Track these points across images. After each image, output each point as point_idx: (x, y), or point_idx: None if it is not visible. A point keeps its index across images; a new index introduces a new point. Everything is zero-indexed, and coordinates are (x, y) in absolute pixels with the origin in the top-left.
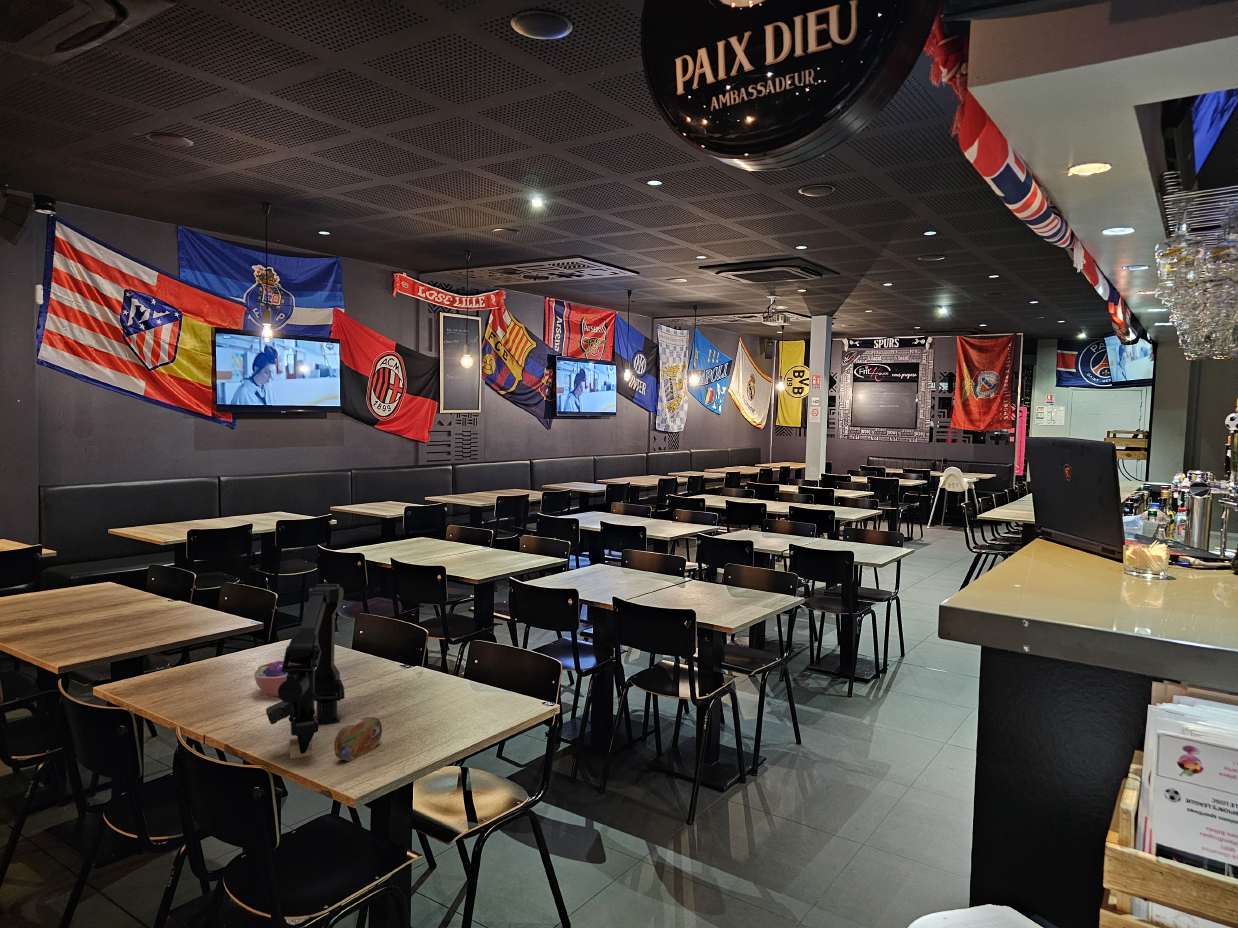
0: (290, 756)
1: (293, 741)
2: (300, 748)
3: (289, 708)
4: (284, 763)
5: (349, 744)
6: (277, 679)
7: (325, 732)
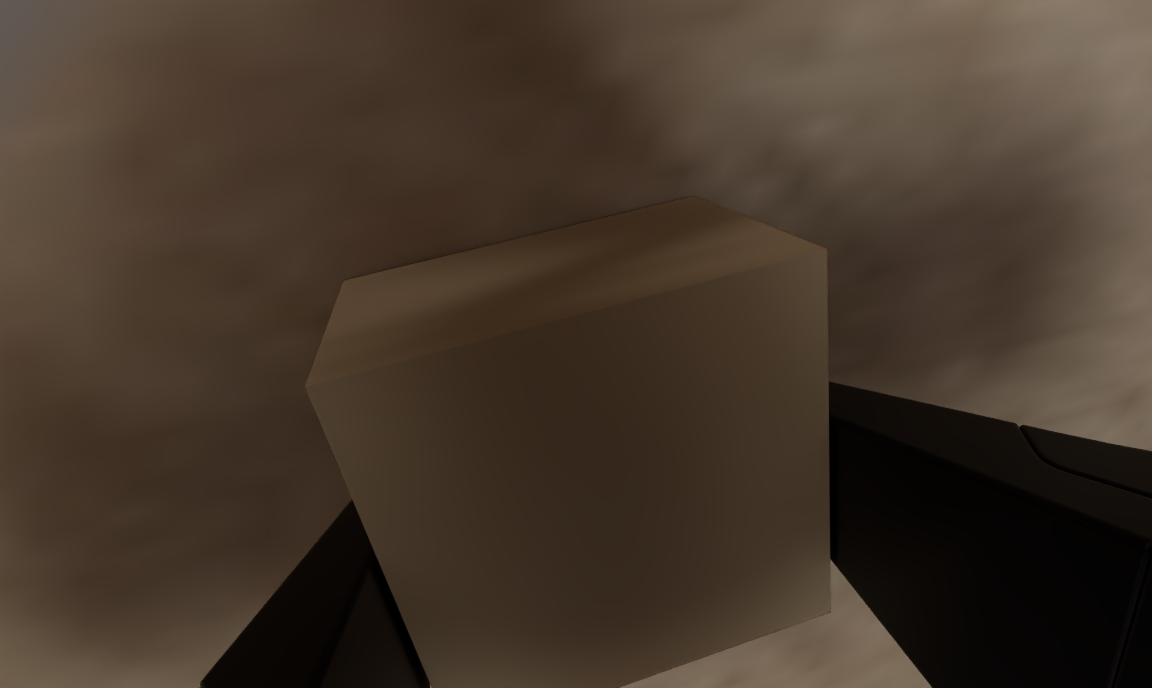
0: (376, 281)
1: (666, 371)
2: (307, 563)
3: None
4: (118, 202)
5: None
6: None
7: None
